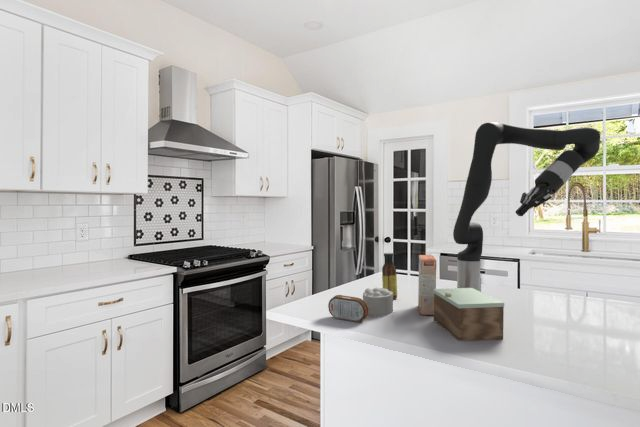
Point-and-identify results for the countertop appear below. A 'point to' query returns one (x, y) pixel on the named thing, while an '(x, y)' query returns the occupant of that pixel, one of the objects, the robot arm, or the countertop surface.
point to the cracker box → (426, 284)
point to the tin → (348, 308)
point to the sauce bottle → (389, 274)
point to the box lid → (467, 298)
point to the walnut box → (469, 321)
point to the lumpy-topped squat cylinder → (378, 301)
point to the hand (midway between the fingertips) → (518, 214)
